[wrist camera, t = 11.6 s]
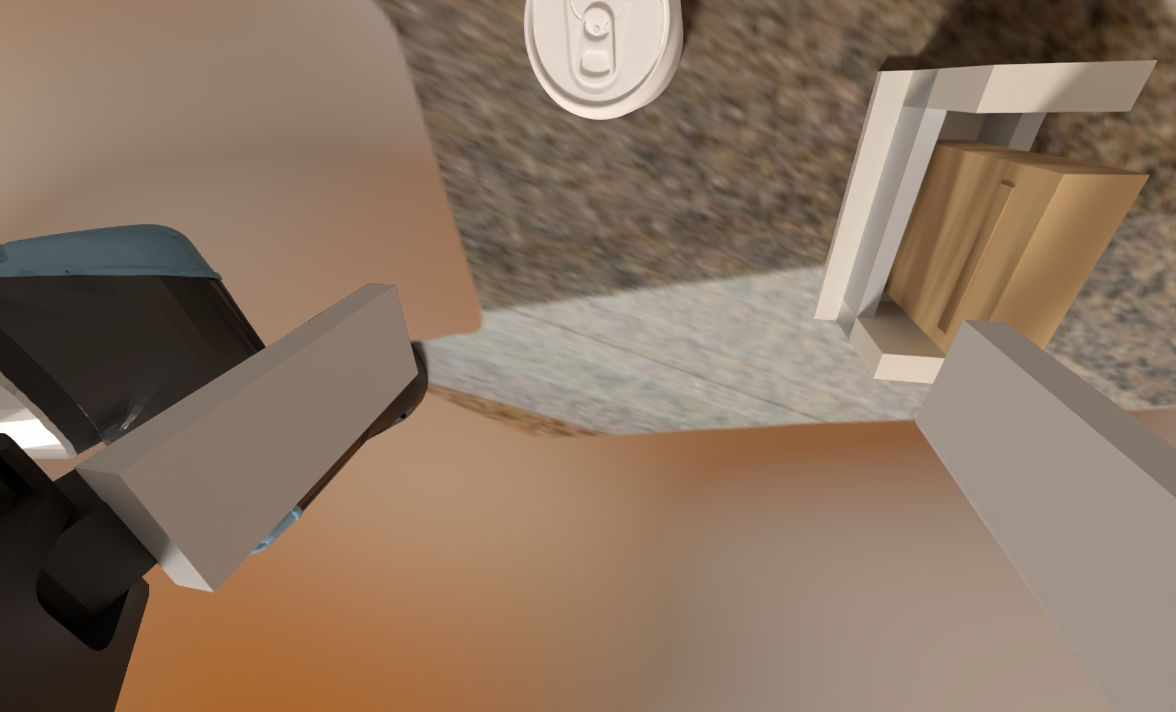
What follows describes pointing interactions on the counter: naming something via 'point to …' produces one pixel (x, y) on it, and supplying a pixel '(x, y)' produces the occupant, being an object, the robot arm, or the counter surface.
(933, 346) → the door track
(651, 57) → the beverage can
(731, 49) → the counter surface
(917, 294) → the door panel
